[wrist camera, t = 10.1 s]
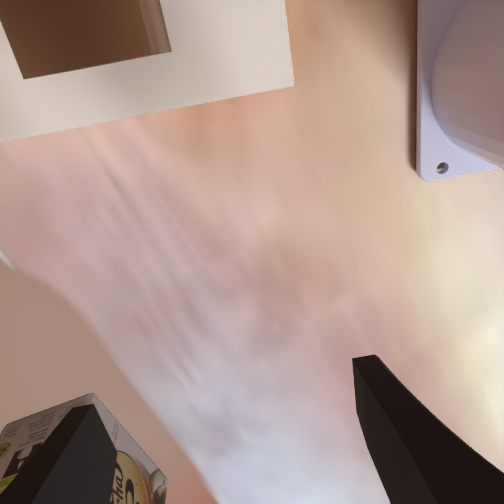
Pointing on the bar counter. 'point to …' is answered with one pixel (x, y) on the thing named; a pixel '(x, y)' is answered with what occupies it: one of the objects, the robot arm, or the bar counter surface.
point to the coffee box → (129, 452)
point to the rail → (81, 33)
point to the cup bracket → (157, 70)
